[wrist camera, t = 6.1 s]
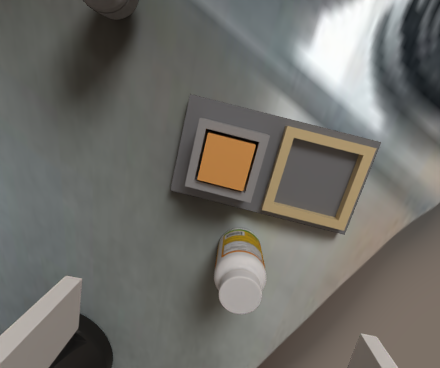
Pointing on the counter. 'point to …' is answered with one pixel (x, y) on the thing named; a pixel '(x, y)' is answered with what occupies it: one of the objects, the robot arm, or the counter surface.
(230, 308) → the supplement bottle
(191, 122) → the base
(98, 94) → the counter surface
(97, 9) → the light bulb
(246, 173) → the switch button
